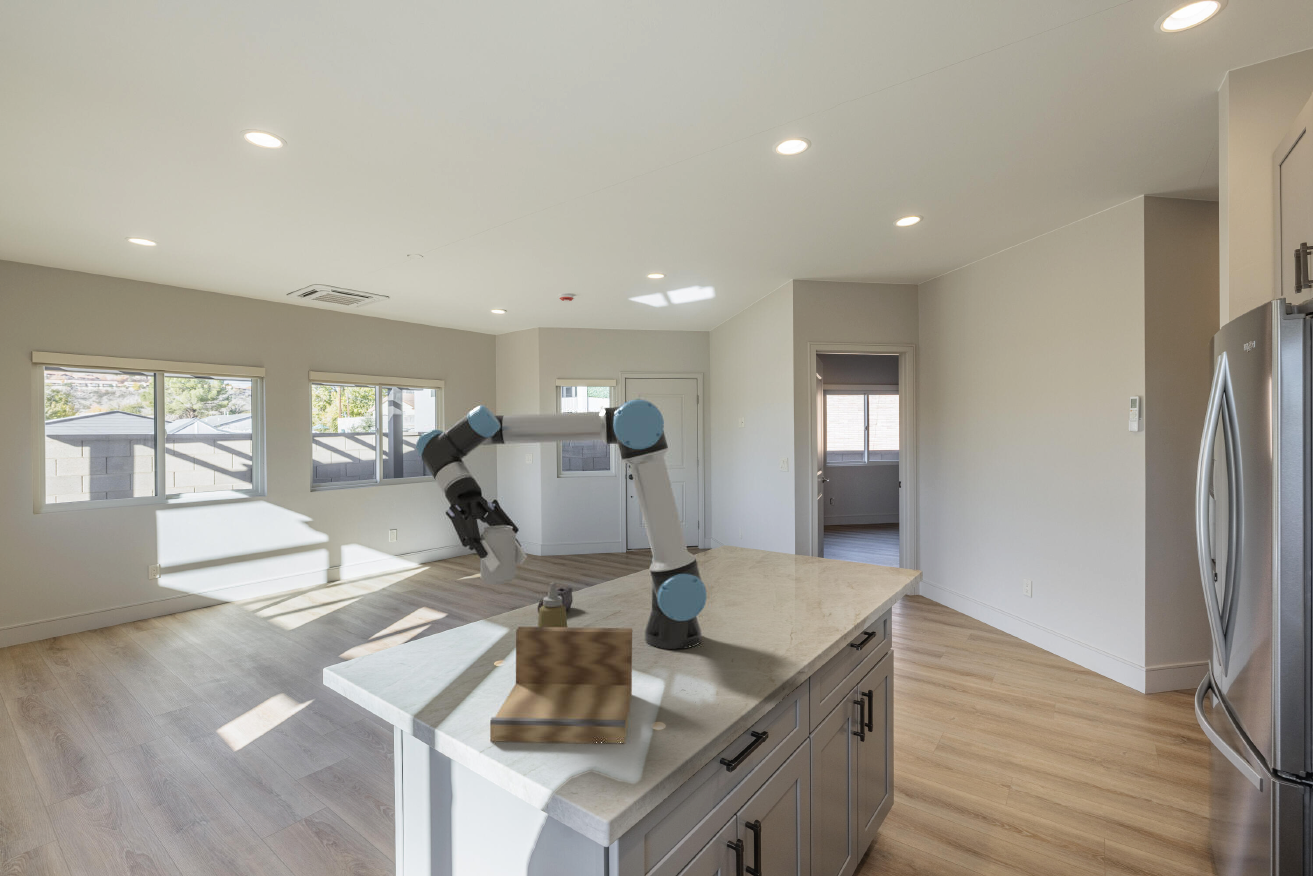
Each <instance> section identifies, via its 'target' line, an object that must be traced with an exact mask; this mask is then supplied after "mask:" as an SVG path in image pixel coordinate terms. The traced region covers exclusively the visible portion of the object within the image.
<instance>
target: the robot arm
mask: <svg viewBox="0 0 1313 876" xmlns="http://www.w3.org/2000/svg"><path fill="white" fill-rule="evenodd" d="M664 421H665V420H664V418H663V414H662V413H661V411H660V409H659V408H658V407H657V406H656V405H655V404H654V403H652V402H650V401H648V400H646V399H642V398H641V399H637V398H636V399H631V400H629V401H625V402H624V403H622V404H621V405H619V406H615V407H604V408H602V410H600V411H589V412H585V411H584V412H561V413H560V412H559V413H555V412H554V413H534V414H533V413H530V414H505V415H499V414H498V415H495V414H494V413H493V412H492V411H491V410H490V408H488V407H487V406H485V405H482V404H480V405H478V406H476V407H475V408H473V410H470V411H468V413H467V414H465V416H463V417H462V418H460V419H459V420H458V421H457V422H456V423H454V424H453V425H452V426H451V427H450V428H448V429H447V430H446V431H443V430H440V429H431V430H429V432H425V433H423V434H422V435H421V436H420V437H418V439H417V441H416V444H415V447H416V451H417V453H418V454H419V457H420V458H421V461H422V462H423V464H424V466H426V468H427V469H428V471H429V473H430V474H431V475H432V477H433V479H434V481H435V482H436V483H437V485H438V487H439V489H440V490H441V492H442V493H443V494H444V496H445V498H446V500H447V501H448V503H449V504H450V506H449V508H447V510H446V511H445V514H446V517H448V518H449V519H450V521H451V523H452V525H453V527H454V529H455V532H456V534H457V537H458V538H459V541H460V543H461V545H462V547H463V548H467V547H468V549H469V550H470V551H473V550H474V551H475V552H476V554H477V556H478V557H479V558H480V560H481V559H483V560H484V562H485V564H486V565H487V567H488V568H489V570H490V571H491V572H494V571H495V570H496V568H497V567H498V566H499V565H500V563H499V561H498V560H497V558H496V556H495V555H494V553H493V552H492V550H491V549H490V547H489V545H488V544H487V542H486V541H485V540H482V541H481V532H480V528H479V523H478V520H479V521H481V522H482V523H486V524H487V526H511V527H513V529H512V530H513V531H514V532H515V533H516V534H517V533H518V532H520V531H519V527H518V526H517V525H516V524H515V523H514V522H513V520H511V518H510V517H509V516H508V515H507V513H506V512H505V511H504V510H503V508H502V507H501V505H500V503H499V501H498V500H497V499H493V500H492V501H488V500H487V499H486V498H485V497H484V496H483V495H482V493H483V492H482V491H483V490H482V488H481V486H480V485H479V483H478V482H477V480H476V479H475V478H474V476H473V473H471V471H470V469H469V468H468V467H467V465H466V464H465V462H464V460H463V459H464V457H467V456H468V455H469V454H471V453H472V452H473V451H475V449H477V448H478V447H480V446H491V445H505V444H507V445H508V444H513V445H515V444H535V443H536V444H537V443H540V444H541V443H563V442H564V443H566V442H591V441H592V442H593V441H596V442H597V441H602V442H603V443H604V444H605V445H617V446H618V449H619V453H620V457H621V461H622V462H624V463H625V464H627V465H629V467H630V470H631V471H630V472H631V475H632V480H633V483H634V487H635V491H636V495H637V499H638V502H639V507H640V511H641V515H642V518H643V523H644V527H645V530H646V534H647V538H648V542H649V547H650V549H651V554H652V560H651V564H650V566H649V571H650V572H649V573H650V576H651V611H650V613H649V618H648V621H647V624H646V626H645V630H644V640H645V643H647V644H648V645H650V646H653V647H655V646H656V648H659V647H660V649H667V650H668V649H669V650H678V649H677V648H684V649H686V648H685V647H689V646H693V645H695V644H697V643H699V642H700V641H702V629H701V627H700V623H699V620H698V617H697V616H698V615H699V614H701V612H702V611H703V609H704V608H705V606H706V603H707V597H708V596H707V589H706V585H705V584H704V582H703V581H702V578H701V575H700V574H701V573H700V569H699V567H698V562H697V558H696V556H695V555H694V554H693V553H691V552H689V551H688V548H687V543H686V540H685V536H684V533H683V528H682V524H681V523H682V522H681V518H680V516H679V511H678V508H677V504H676V499H675V495H674V492H673V488H672V484H671V480H670V476H669V472H668V468H667V464H666V460H665V456H666V453H667V452H668V450H669V446H668V443H667V439H666V435H665V434H666V433H665V430H664V429H665V428H664V427H665V425H664V423H665V422H664ZM527 558H528V556H527V554H526V552H525V551H524V550H523V548H522V545H521V543H520V541H519V540H518V538H516V564H517V565H518V566H521V565H522V564H523V563H524V562H525V561H526V560H527ZM700 643H701V642H700ZM700 643H699V644H700ZM693 647H694V646H693ZM689 648H690V647H689Z"/></svg>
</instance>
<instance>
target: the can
mask: <svg viewBox="0 0 1313 876" xmlns="http://www.w3.org/2000/svg"><path fill="white" fill-rule="evenodd" d="M512 529H513V527H511V526H489V525H487V526H485V527H483V532H482V533H480V537H481V541H482V540H485V541H486V542H487V544H488V545H489V547H490V549H491V550H492V552H493V553H494V555H495V556H496V558H497V560H498V561H499V563H500V565H499V566H498V567H497V568H496V570H495V571H494V572H491V571H490V570H489V568H488V567H487V565H486V564H485V562H484V560H483V559H481V558H480V580H482V581H483V582H484V583H485V584H487V585H503V584H509V583H512V581H513V580H514V579H515V578H516V564H517V562H516V539H517V533H515V532H514V531H513V530H512Z"/></svg>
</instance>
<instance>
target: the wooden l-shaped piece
mask: <svg viewBox="0 0 1313 876" xmlns="http://www.w3.org/2000/svg"><path fill="white" fill-rule="evenodd" d="M632 683H633V628H631V627H628V628H627V627H623V628H621V627H615V628H614V627H572V626H571V627H569V626H567V627H538V626H518V627H517V628H516V631H515V684H514V686H513V687H512V689H511V690H510V692H509V694H508V695H507V697H506V699H505V700H504V702H503V704H502V705H501V706H500V708H499V709H498V711H497V713H496V715H495V717H493V716H492V717H491V719H490V722H489V723H490V724H489V725H490V726H489V727H490V728H489V729H490V731H489V733H490V736H489V737H490V742H496V741H509V742H508V743H510V741H511V743H516V742H517V743H547V744H548V743H552V744H553V743H555V744H557V743H558V744H601V742H602V743H620V742H621V743H626V738H625V737H626V735H627V729H628V724H629V716H630V711H631V710H630V708H631V704H632V703H631V702H632V695H633V694H632V693H633V692H632V690H633V688H632V687H633V684H632ZM574 742H575V743H574ZM596 742H597V743H596Z"/></svg>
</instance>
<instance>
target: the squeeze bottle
mask: <svg viewBox="0 0 1313 876" xmlns="http://www.w3.org/2000/svg"><path fill="white" fill-rule="evenodd" d="M547 594H548V596H547V597H545V596H543V597H544V598H543V597H542V598H543V606H542V607H541V608H540V609H539V613H538V620H537V627H568V618H567V610H566V607H564V606H563V605H562V597H560V596H558V594H557V586H556V582H551V583H550V585H549V588H548V593H547Z"/></svg>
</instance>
